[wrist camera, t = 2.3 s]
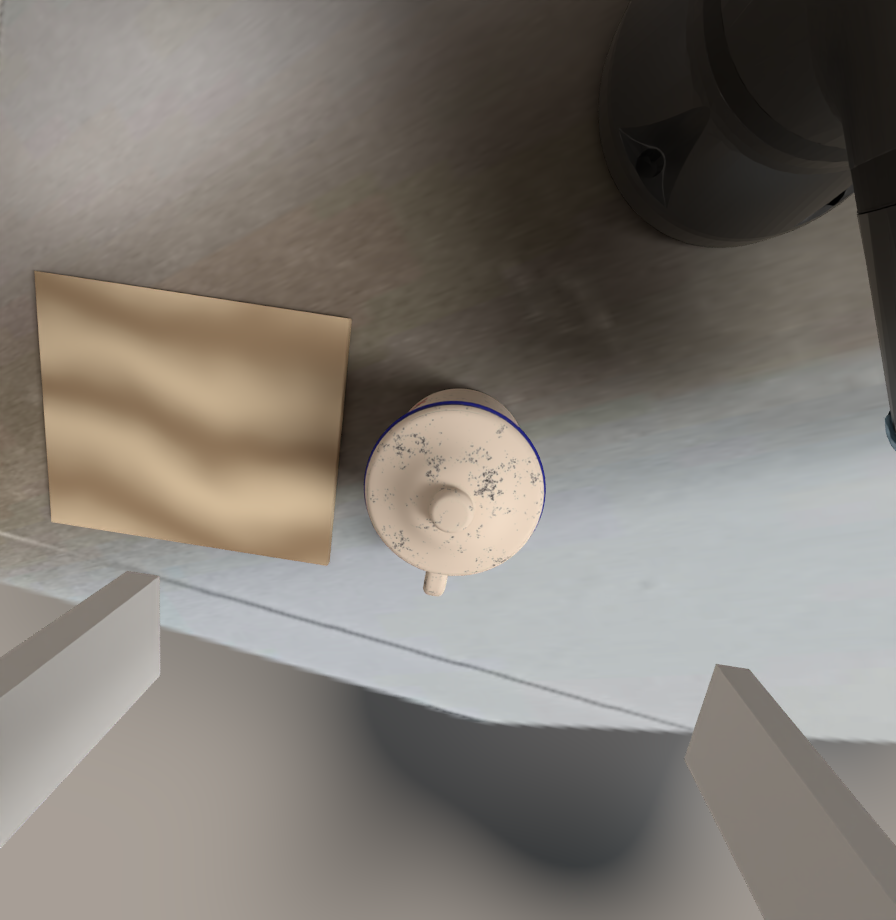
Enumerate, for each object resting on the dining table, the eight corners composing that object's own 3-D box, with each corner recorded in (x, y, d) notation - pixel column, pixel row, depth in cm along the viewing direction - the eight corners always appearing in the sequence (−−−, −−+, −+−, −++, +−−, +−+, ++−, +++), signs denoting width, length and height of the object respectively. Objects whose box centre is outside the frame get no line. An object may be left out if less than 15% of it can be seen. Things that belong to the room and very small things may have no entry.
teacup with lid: (403, 371, 31) (362, 392, 20) (541, 398, 31) (579, 434, 20) (376, 540, 34) (328, 640, 23) (502, 564, 34) (516, 677, 23)
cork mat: (42, 272, 31) (34, 270, 30) (351, 318, 30) (349, 318, 30) (58, 518, 35) (51, 521, 35) (329, 561, 35) (327, 565, 34)
